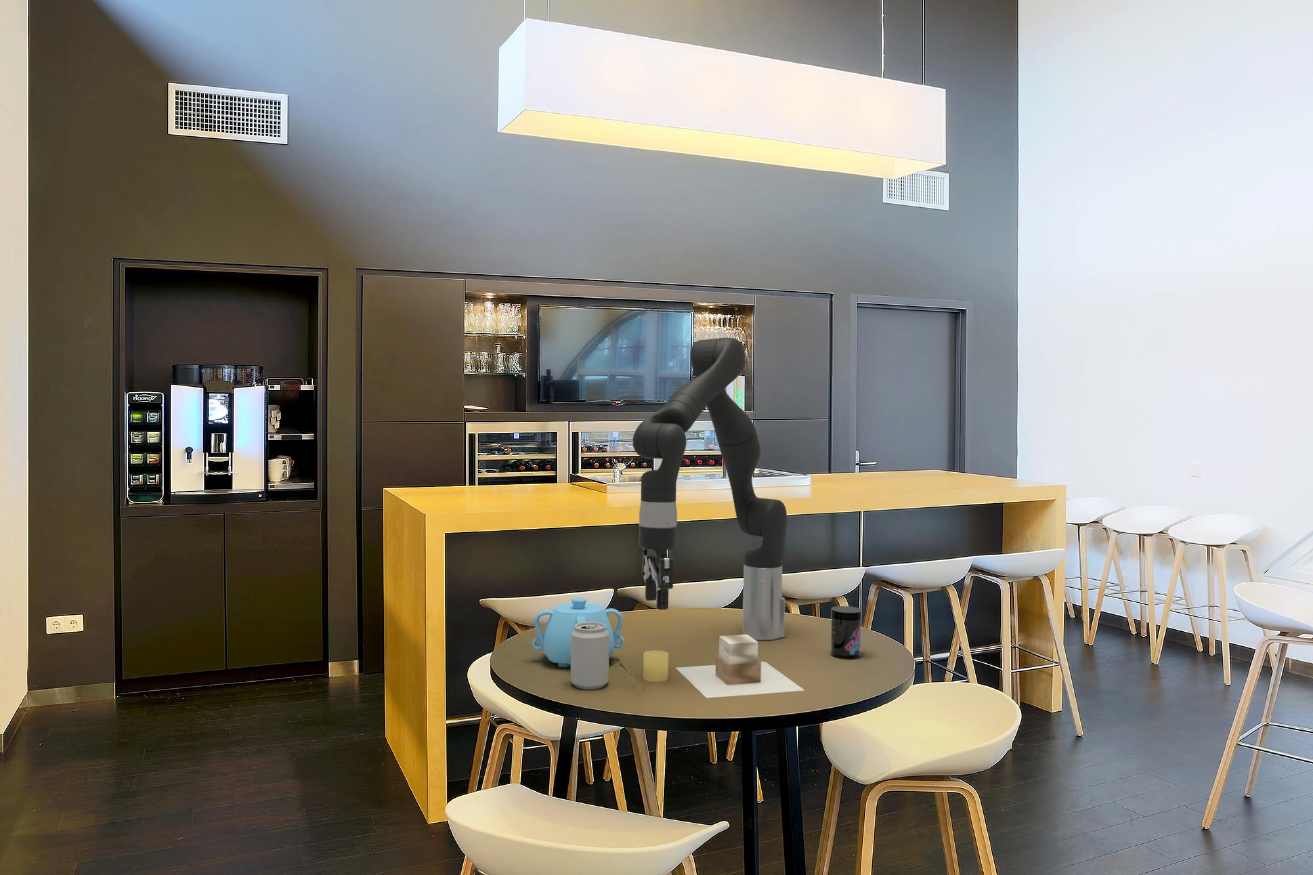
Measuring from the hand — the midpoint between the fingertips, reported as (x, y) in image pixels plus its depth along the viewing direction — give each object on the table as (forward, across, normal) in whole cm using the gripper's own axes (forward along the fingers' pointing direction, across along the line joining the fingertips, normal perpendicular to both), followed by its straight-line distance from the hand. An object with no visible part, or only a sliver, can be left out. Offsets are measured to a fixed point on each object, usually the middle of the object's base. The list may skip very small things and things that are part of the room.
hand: (656, 604), depth 185 cm
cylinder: (+16, 0, 0) cm, 16 cm away
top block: (+11, -4, -16) cm, 20 cm away
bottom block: (+15, -4, -16) cm, 22 cm away
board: (+16, -4, -16) cm, 23 cm away
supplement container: (+16, +10, -47) cm, 51 cm away
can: (+16, +2, +13) cm, 21 cm away
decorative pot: (+16, +19, +12) cm, 28 cm away
